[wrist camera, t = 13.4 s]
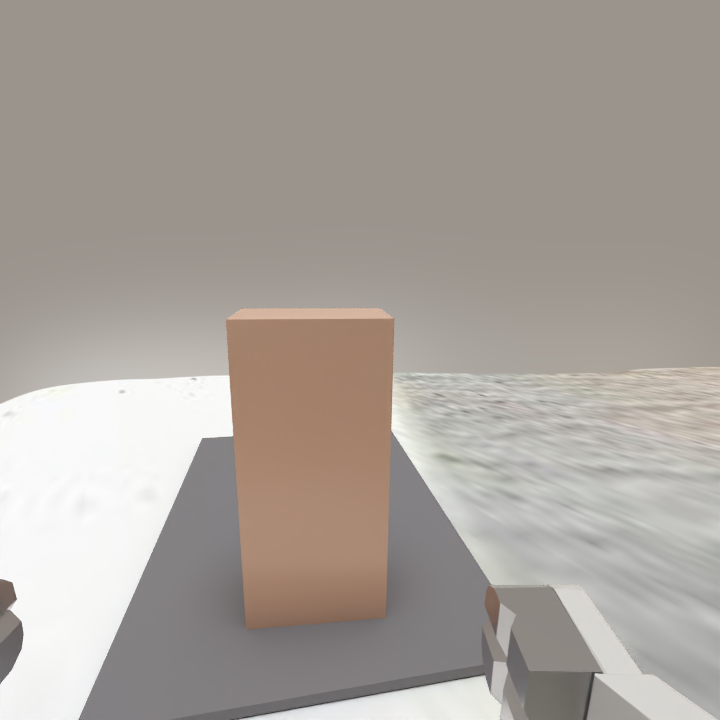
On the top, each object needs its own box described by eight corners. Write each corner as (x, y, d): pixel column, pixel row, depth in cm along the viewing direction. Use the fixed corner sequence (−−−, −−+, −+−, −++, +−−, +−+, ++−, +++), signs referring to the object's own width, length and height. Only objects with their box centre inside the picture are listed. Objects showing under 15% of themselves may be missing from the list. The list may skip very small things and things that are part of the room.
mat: (388, 431, 33) (388, 426, 33) (535, 664, 14) (536, 655, 14) (202, 443, 31) (202, 438, 31) (73, 747, 12) (71, 736, 11)
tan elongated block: (374, 560, 18) (379, 308, 16) (385, 617, 15) (394, 318, 13) (256, 569, 18) (242, 308, 15) (246, 629, 15) (226, 319, 12)
